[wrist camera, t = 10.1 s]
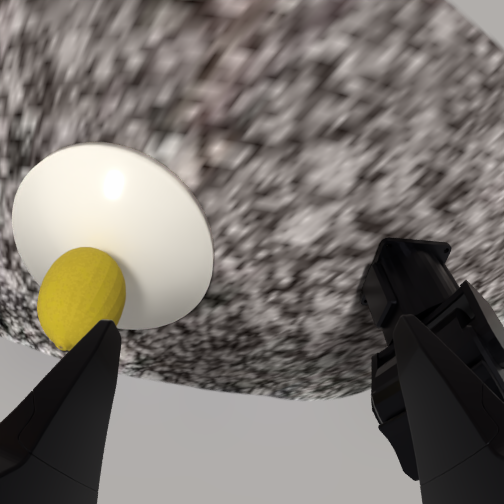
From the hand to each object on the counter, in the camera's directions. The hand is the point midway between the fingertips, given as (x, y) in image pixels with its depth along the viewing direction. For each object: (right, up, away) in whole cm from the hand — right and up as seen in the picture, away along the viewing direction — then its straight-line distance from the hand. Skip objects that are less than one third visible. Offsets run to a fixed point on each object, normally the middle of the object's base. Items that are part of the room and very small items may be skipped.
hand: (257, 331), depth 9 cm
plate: (-11, +3, +13) cm, 17 cm away
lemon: (-11, +2, +12) cm, 16 cm away
